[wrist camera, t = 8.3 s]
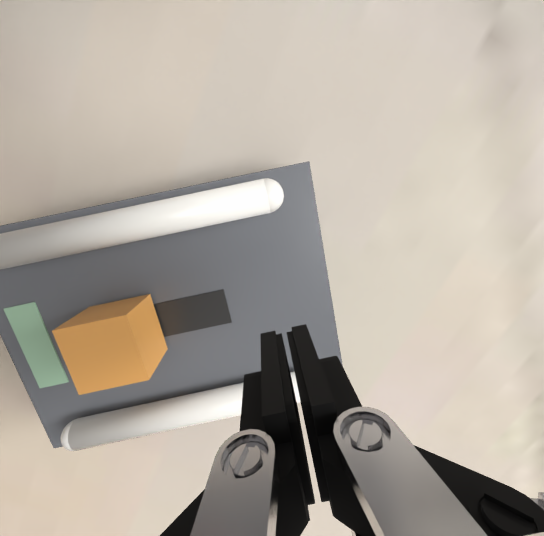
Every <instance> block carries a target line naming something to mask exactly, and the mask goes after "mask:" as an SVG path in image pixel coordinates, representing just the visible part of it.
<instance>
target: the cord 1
mask: <svg viewBox="0 0 544 536" xmlns="http://www.w3.org/2000/svg"><path fill="white" fill-rule="evenodd" d="M283 199H284V193H283V189H282V187H281V185H280V184H279V183H278V182H277V181H275V180H273V179H269V178H264V179H259V180H254V181H249V182H245V183H240V184H235V185H230V186H225V187H221V188H216V189H211V190H206V191H202V192H197V193H192V194H187V195H183V196H178V197H173V198H168V199H163V200H159V201H154V202H149V203H144V204H140V205H135V206H130V207H125V208H120V209H116V210H111V211H106V212H101V213H97V214H92V215H87V216H82V217H77V218H73V219H68V220H63V221H58V222H54V223H49V224H44V225H39V226H35V227H30V228H25V229H20V230H15V231H11V232H6V233H1V234H0V269H6V268H11V267H16V266H21V265H25V264H30V263H35V262H40V261H44V260H49V259H54V258H59V257H63V256H68V255H73V254H78V253H82V252H87V251H92V250H97V249H101V248H106V247H111V246H116V245H120V244H125V243H130V242H135V241H139V240H144V239H149V238H154V237H158V236H163V235H168V234H173V233H177V232H182V231H187V230H192V229H196V228H201V227H206V226H211V225H215V224H220V223H225V222H230V221H234V220H239V219H244V218H249V217H253V216H258V215H263V214H268V213H272V212H274V211H276V210H277V209H278V208H279V207H280V206H281V205H282V203H283Z"/></svg>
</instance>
